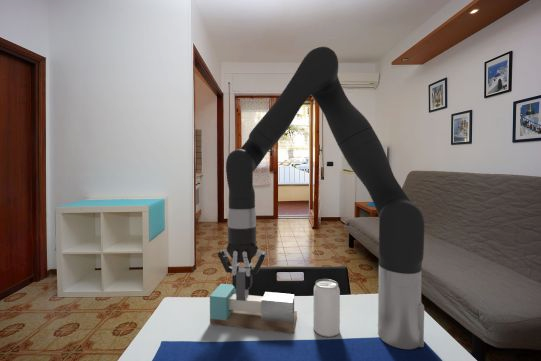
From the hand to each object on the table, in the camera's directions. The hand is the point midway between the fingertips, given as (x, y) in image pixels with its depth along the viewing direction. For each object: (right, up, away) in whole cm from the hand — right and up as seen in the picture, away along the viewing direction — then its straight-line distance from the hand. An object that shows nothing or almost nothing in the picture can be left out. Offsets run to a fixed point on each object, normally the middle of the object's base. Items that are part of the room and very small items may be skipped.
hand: (242, 287), depth 74 cm
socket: (-5, -7, +1) cm, 9 cm away
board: (+3, -9, 0) cm, 9 cm away
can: (+22, -9, -5) cm, 24 cm away
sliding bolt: (+2, -6, 0) cm, 6 cm away
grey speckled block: (+10, -7, -2) cm, 12 cm away
